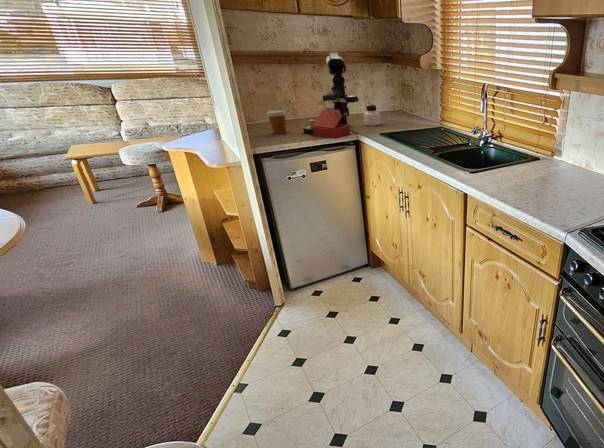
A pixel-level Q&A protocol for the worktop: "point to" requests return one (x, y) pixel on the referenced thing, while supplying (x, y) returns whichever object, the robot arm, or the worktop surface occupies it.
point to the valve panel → (308, 130)
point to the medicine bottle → (371, 116)
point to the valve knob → (312, 122)
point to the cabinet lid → (328, 118)
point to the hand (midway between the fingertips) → (342, 115)
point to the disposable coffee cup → (277, 121)
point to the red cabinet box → (332, 131)
